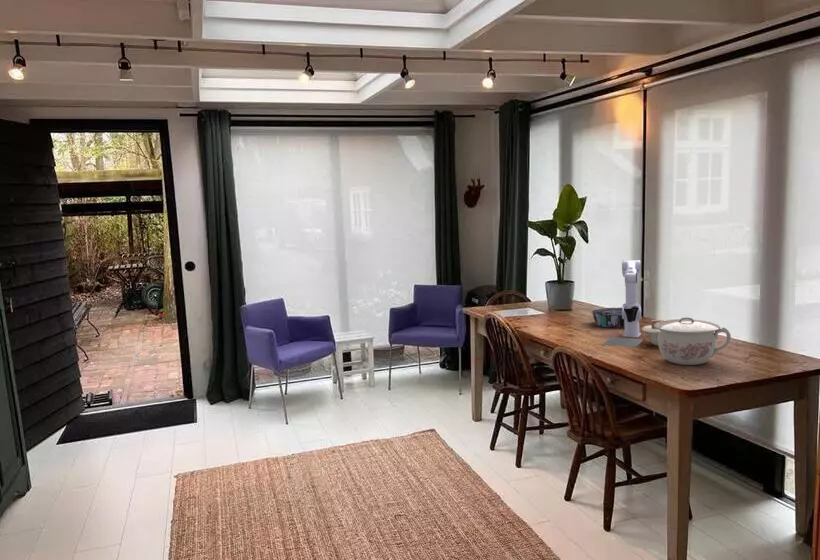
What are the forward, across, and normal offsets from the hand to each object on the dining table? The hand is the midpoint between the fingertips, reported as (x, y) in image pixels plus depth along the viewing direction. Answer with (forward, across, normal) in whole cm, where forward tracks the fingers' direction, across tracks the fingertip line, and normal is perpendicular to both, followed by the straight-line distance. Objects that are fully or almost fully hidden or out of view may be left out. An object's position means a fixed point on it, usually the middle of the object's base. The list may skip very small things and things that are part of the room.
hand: (631, 321), depth 317 cm
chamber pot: (+15, +31, +30) cm, 46 cm away
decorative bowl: (+6, -41, -18) cm, 45 cm away
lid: (+3, +4, +14) cm, 15 cm away
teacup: (+12, +3, +13) cm, 18 cm away
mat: (+11, +3, -4) cm, 12 cm away
